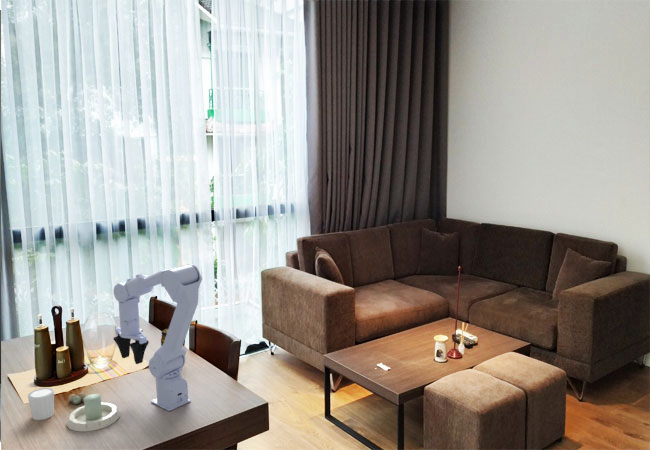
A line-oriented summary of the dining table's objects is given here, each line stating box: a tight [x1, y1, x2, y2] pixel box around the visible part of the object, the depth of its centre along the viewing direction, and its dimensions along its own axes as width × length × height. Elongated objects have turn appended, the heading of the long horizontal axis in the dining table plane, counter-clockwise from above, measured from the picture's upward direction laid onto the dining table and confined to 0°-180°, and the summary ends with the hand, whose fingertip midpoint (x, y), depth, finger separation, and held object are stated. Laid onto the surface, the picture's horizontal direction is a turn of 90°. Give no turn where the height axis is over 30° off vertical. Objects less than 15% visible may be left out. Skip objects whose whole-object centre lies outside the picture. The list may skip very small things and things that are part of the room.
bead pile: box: [67, 392, 89, 405], centre depth 170 cm, size 6×5×2 cm
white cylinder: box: [27, 387, 55, 421], centre depth 162 cm, size 7×7×7 cm
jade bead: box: [83, 393, 102, 421], centre depth 160 cm, size 4×4×6 cm
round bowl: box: [66, 401, 121, 433], centre depth 160 cm, size 14×14×2 cm
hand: (132, 360), depth 177 cm, fingers open, 7 cm apart
